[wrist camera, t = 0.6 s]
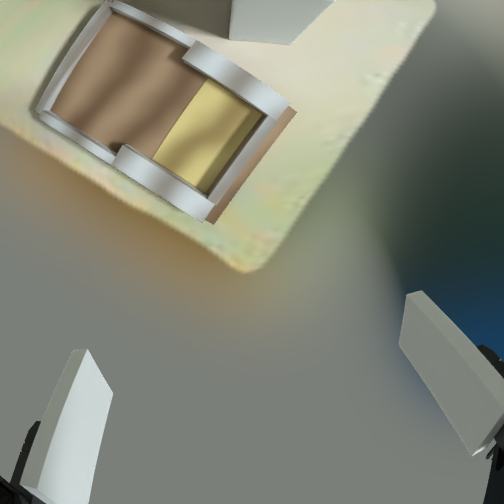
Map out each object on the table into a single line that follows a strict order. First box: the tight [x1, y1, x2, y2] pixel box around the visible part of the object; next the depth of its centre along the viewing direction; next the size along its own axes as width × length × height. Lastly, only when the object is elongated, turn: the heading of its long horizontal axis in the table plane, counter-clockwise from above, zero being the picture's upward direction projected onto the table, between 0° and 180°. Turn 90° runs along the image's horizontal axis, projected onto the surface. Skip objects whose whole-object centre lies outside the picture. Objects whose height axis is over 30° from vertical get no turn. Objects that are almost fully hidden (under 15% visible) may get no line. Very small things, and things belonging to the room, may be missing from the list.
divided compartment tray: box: [35, 0, 297, 225], centre depth 30 cm, size 26×16×3 cm, turn 54°
